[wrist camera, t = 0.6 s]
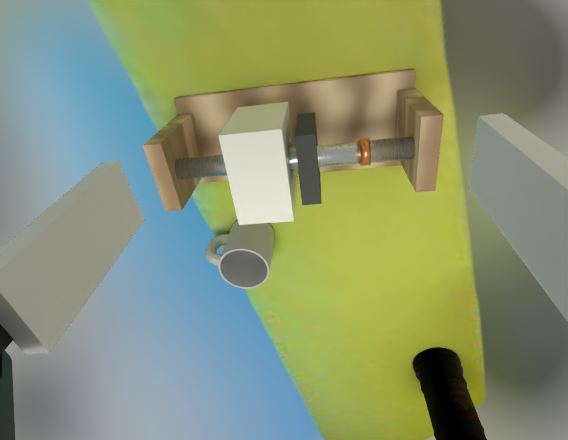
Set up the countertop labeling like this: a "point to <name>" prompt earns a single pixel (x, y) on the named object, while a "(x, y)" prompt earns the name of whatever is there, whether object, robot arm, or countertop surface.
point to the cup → (243, 254)
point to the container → (447, 395)
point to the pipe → (327, 154)
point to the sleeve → (260, 163)
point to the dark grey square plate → (308, 158)
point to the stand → (302, 99)
